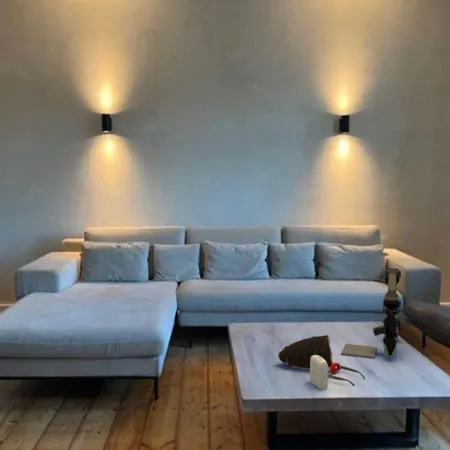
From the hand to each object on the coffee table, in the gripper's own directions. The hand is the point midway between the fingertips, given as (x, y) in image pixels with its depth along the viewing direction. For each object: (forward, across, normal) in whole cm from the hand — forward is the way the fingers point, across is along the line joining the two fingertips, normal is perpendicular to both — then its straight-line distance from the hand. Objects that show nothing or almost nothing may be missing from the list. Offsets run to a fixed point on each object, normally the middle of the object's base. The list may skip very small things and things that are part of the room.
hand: (390, 352), depth 258 cm
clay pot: (+2, +30, -36) cm, 47 cm away
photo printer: (+2, +50, -26) cm, 56 cm away
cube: (+1, 0, 0) cm, 1 cm away
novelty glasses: (+2, +39, -17) cm, 43 cm away
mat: (+1, 0, -15) cm, 15 cm away
